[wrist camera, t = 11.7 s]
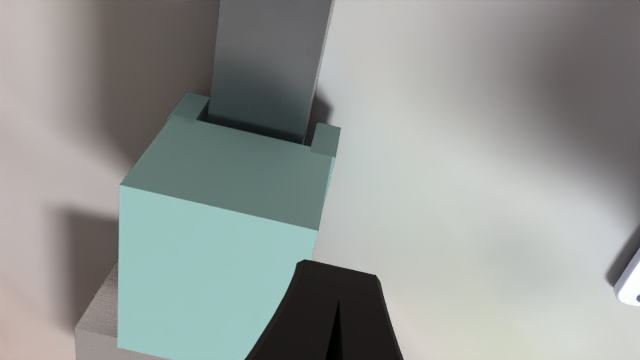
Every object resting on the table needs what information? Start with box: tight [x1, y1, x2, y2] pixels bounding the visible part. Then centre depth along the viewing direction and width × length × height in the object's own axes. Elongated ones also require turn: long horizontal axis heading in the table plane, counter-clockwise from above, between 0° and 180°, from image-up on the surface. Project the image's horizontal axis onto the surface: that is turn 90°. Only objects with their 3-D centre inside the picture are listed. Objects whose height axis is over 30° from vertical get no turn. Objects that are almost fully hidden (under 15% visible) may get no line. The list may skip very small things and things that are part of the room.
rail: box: [207, 0, 335, 145], centre depth 18 cm, size 3×19×2 cm, turn 168°
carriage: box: [117, 92, 341, 360], centre depth 18 cm, size 5×6×6 cm
